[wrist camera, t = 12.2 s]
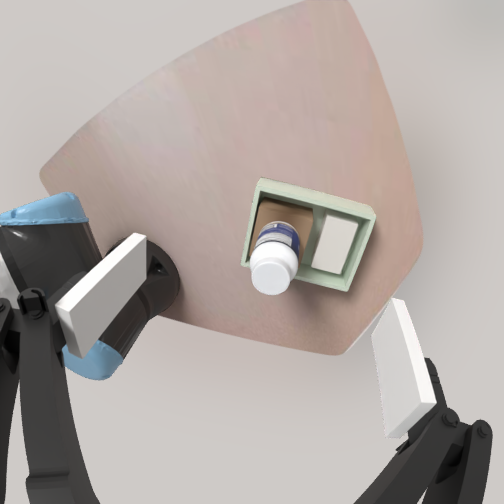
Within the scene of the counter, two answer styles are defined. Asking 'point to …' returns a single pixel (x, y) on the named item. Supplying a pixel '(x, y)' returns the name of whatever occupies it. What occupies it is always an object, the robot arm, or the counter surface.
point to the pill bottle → (275, 258)
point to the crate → (315, 229)
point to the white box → (333, 241)
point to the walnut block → (284, 220)
